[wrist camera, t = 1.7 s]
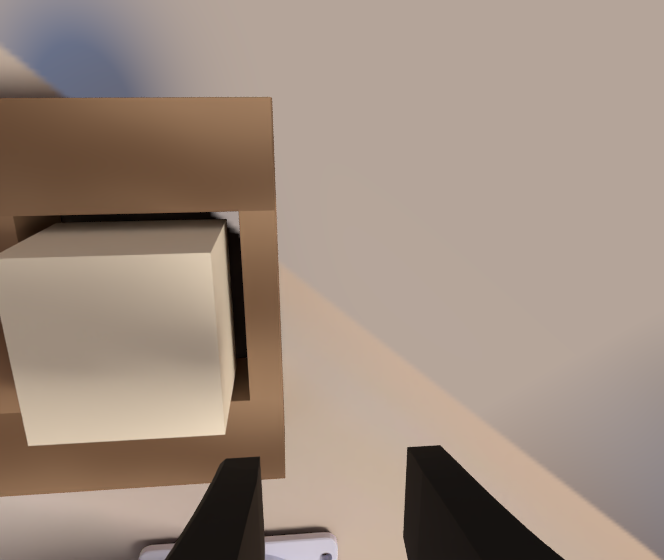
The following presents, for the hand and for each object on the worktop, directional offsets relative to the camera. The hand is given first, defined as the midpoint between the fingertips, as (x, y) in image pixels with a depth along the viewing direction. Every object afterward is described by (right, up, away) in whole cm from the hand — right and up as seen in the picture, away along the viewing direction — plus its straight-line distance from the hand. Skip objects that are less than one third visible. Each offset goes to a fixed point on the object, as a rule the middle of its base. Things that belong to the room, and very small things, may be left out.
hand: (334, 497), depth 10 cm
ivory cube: (-6, +3, +7) cm, 10 cm away
